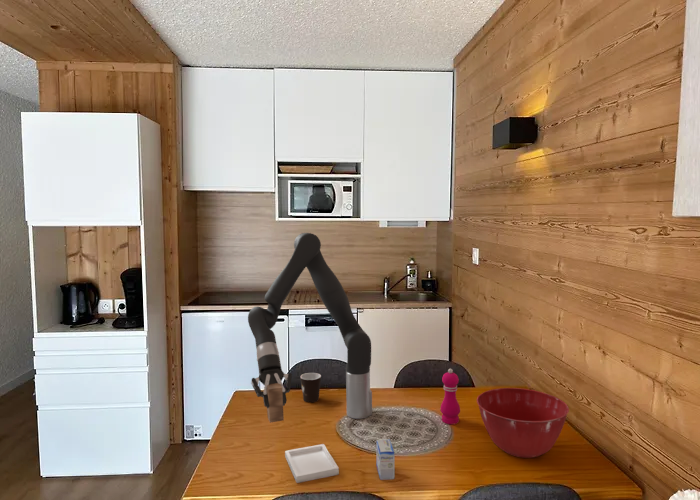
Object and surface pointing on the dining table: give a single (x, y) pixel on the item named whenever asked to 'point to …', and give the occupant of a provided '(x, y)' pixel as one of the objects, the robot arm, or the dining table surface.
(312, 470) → the tray
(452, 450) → the dining table surface
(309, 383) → the coffee mug
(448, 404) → the pepper mill
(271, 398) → the brown wooden block
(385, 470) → the medicine box
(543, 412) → the mixing bowl
